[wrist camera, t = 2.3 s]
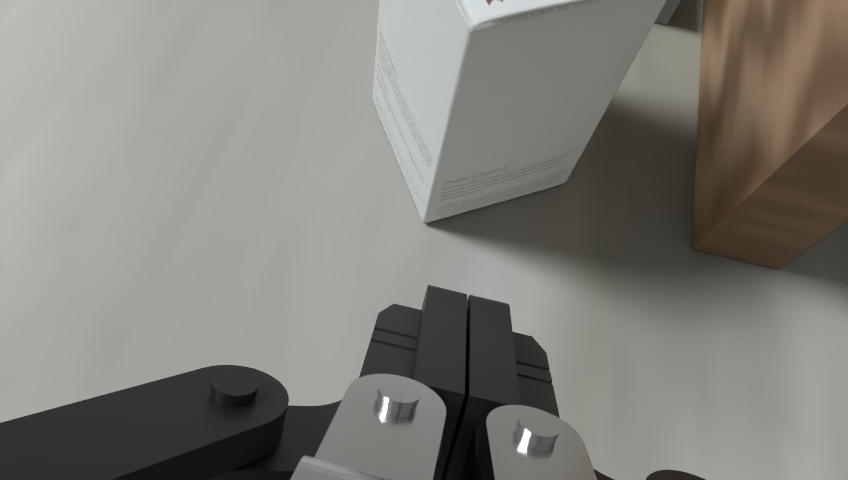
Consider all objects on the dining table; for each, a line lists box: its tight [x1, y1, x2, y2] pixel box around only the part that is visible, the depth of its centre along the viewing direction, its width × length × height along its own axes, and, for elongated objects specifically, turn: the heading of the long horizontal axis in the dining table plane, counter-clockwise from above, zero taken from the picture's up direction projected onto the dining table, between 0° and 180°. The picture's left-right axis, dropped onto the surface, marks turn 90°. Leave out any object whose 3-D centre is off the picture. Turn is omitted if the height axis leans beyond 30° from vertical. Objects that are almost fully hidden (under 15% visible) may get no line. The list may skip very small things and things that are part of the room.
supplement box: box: [373, 0, 667, 223], centre depth 28 cm, size 7×7×13 cm
